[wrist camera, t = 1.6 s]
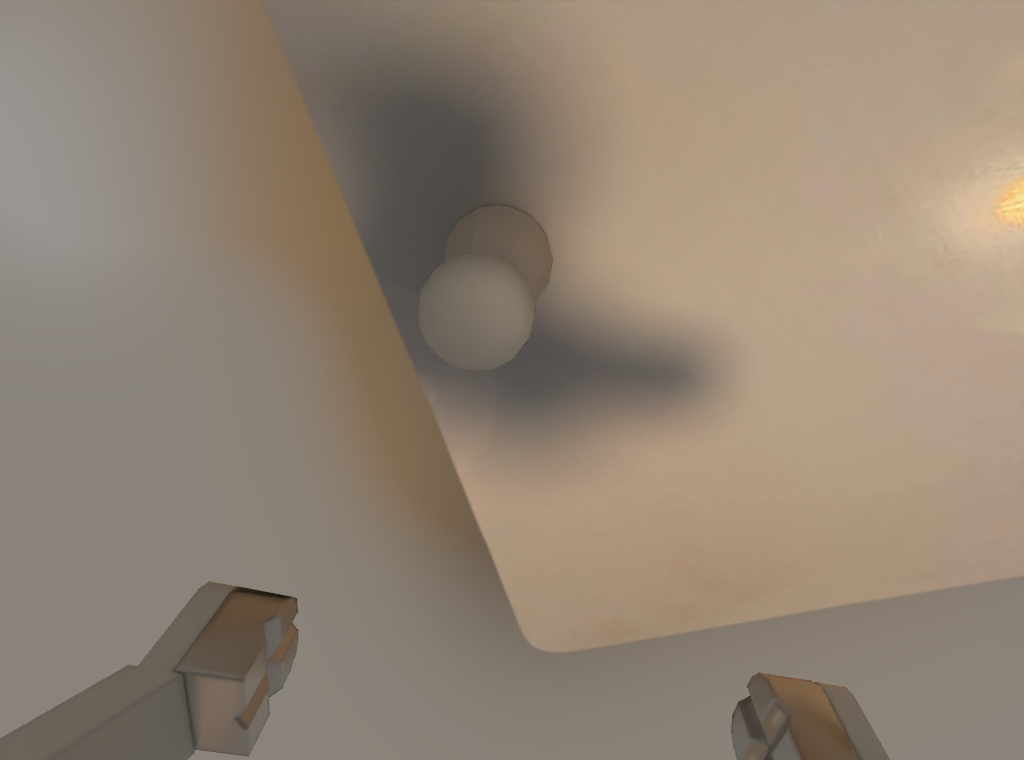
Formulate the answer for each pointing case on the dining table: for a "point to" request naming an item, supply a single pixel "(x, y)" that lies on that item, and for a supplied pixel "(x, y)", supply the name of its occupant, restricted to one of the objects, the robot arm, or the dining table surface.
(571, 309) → the dining table surface
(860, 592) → the dining table surface
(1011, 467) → the dining table surface
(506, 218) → the salt shaker
